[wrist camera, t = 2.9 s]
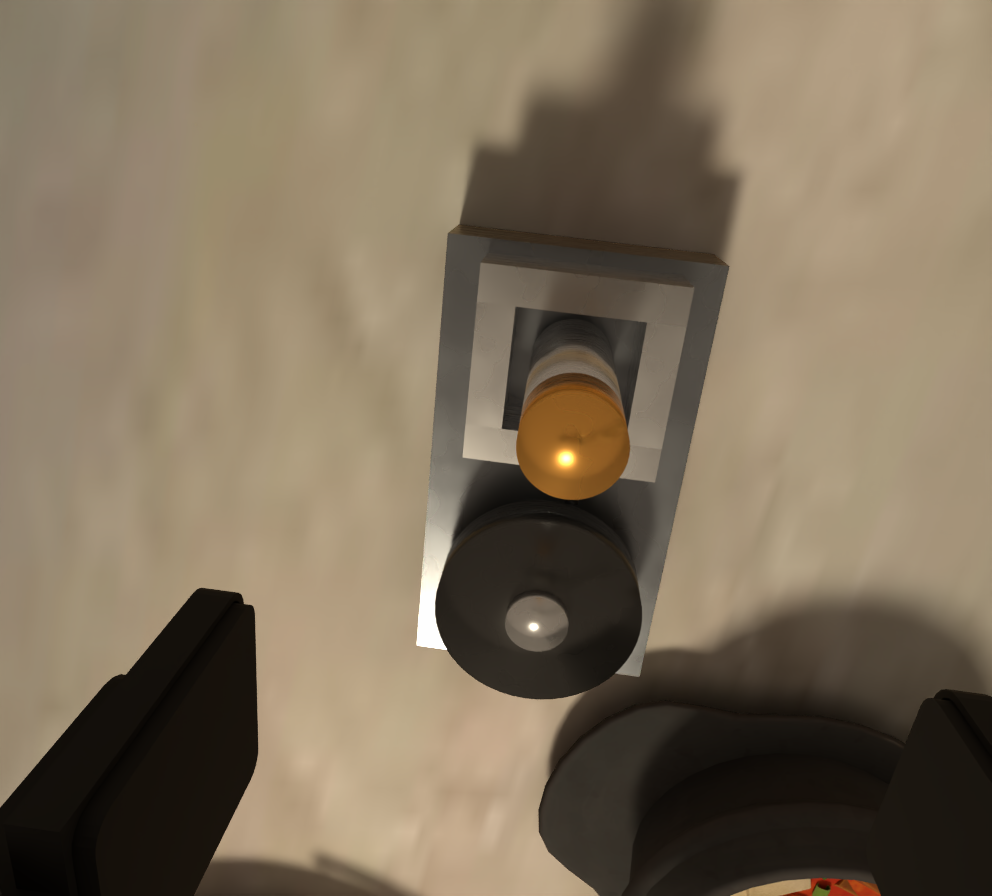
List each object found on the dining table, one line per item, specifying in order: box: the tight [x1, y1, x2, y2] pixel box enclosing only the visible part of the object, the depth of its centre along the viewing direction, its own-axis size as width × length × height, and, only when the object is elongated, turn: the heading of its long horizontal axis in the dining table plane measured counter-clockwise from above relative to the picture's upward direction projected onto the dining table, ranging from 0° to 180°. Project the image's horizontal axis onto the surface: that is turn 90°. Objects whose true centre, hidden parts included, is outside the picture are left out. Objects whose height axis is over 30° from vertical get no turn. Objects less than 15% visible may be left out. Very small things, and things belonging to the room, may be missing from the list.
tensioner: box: [417, 225, 729, 699], centre depth 30 cm, size 18×10×7 cm, turn 174°
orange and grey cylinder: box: [516, 319, 630, 500], centre depth 24 cm, size 3×3×9 cm
